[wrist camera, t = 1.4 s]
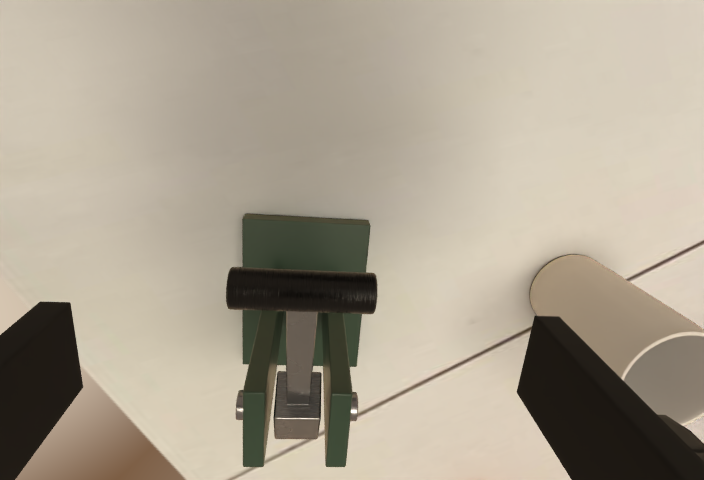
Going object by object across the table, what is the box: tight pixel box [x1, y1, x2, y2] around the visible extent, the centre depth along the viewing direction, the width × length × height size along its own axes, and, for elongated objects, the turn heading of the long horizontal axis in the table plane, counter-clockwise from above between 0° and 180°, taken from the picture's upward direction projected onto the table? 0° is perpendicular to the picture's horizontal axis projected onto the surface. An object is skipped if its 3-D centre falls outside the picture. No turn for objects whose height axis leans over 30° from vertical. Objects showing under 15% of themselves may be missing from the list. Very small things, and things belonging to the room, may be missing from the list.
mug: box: [530, 255, 704, 426], centre depth 32 cm, size 10×7×12 cm, turn 13°
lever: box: [226, 267, 377, 439], centre depth 20 cm, size 12×5×2 cm, turn 175°
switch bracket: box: [236, 214, 370, 467], centre depth 29 cm, size 12×9×15 cm
